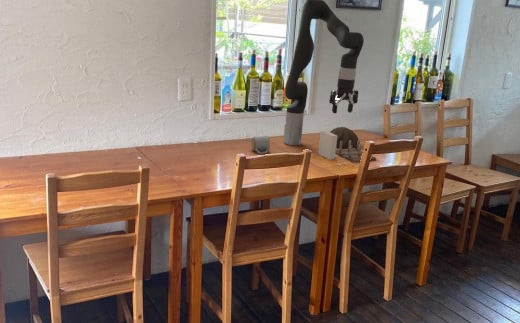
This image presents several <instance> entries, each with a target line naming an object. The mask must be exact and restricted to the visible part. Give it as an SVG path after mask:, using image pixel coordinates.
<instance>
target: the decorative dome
mask: <svg viewBox="0 0 520 323" xmlns="http://www.w3.org/2000/svg"><path fill="white" fill-rule="evenodd" d="M329 132H330V133H332V134H335V135H337V144H336V149H337V150H339V147H340V141H343V142H342V149H348V146H349V140H351V141H352V142H351V145H352V148H354V149H357V144H358V140H360V139H359V137H358V135H357V133H355V132H354V131H353V130H352V129H350V128H348V127H345V126H339V127H336V128H333V129H331V130H330V131H329Z"/></svg>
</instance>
